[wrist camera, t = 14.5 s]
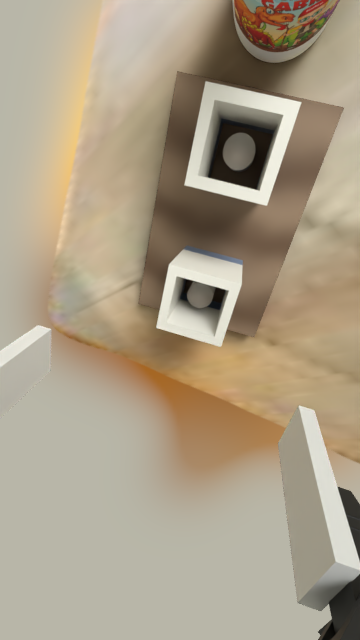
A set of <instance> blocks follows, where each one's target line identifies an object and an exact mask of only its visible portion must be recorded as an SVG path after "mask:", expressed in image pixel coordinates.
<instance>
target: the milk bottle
mask: <svg viewBox="0 0 360 640" xmlns="http://www.w3.org/2000/svg"><path fill="white" fill-rule="evenodd" d="M232 2H233V14H234V21H235V26H236V30H237V33H238V36H239V38H240V41H241V42H242V44H243V46H244V47H245V48H246V50H247V51H248V52H249V53H250V54H251V55H253V56H254V57H256V58H257V59H259V60H262V61H265V62H270V63H279V62H284V61H287V60H290V59H293V58H295V57H296V56H298V55H300V54H301V53H303V52H304V51H305V50H307V49H308V48H309V47H310V46H311V45H312V44H313V43H314V42H315V41H316V39H317V38H318V37H319V36H320V34H321V33H322V31H323V30H324V28H325V26H326V25H327V23H328V21H329V19H330V18H331V16H332V14H333V12H334V10H335V8H336V6H337V4H338V2H339V0H232Z"/></svg>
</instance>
